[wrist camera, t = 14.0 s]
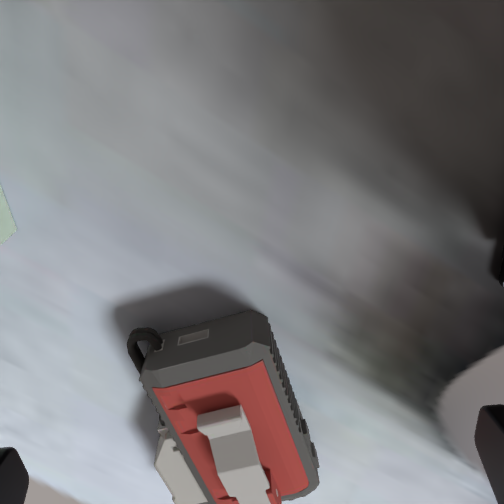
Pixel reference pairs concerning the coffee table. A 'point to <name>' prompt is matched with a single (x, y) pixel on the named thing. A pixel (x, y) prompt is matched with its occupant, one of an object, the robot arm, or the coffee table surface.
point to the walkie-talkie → (225, 413)
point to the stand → (5, 219)
